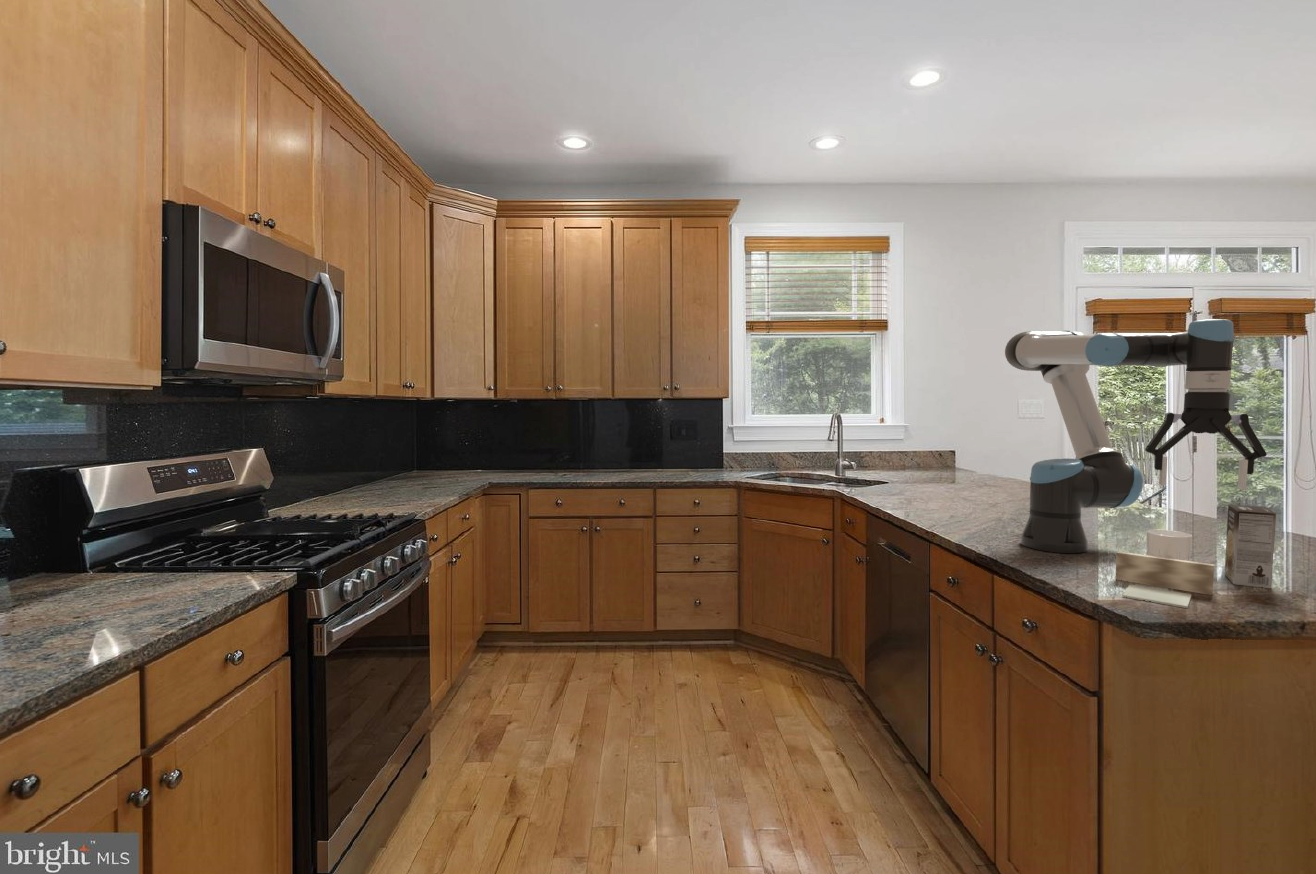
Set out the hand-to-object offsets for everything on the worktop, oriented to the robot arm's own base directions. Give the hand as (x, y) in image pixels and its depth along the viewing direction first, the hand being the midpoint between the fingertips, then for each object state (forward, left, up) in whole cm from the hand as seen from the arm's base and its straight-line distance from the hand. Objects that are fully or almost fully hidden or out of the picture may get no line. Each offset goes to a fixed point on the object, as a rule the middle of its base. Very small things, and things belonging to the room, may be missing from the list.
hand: (1201, 487), depth 140 cm
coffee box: (+8, +2, -20) cm, 22 cm away
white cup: (-5, -6, -20) cm, 22 cm away
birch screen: (-5, -15, -20) cm, 26 cm away
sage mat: (-5, -25, -20) cm, 32 cm away
